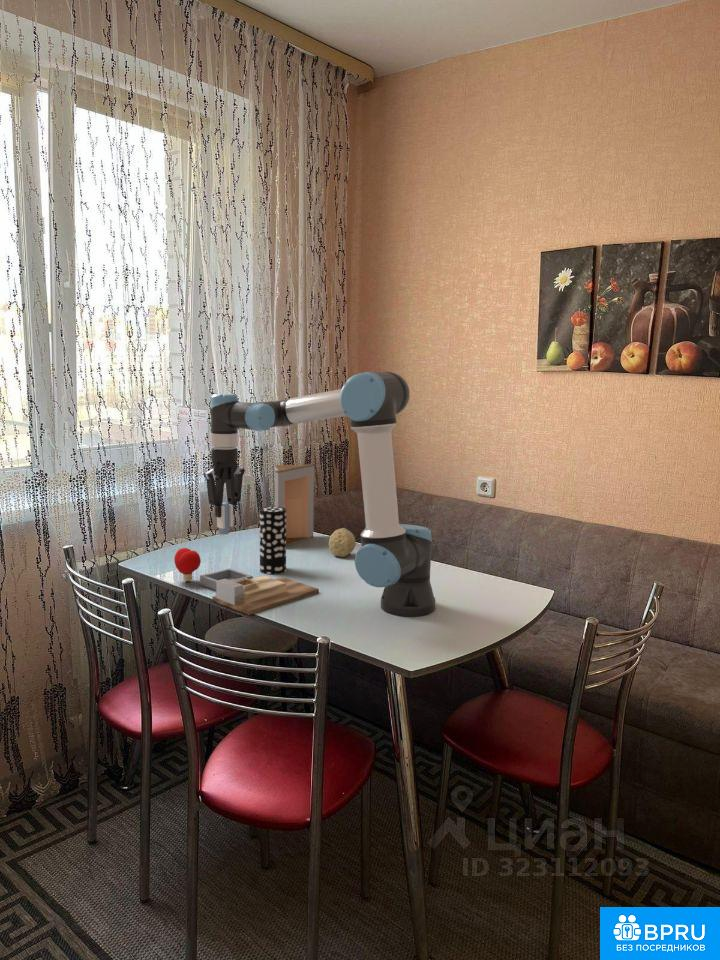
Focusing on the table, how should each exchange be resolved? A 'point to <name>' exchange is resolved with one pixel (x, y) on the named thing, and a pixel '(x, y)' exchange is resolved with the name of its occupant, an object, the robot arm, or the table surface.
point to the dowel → (226, 529)
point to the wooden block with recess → (260, 588)
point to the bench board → (273, 597)
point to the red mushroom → (187, 562)
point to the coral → (342, 542)
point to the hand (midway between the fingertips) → (225, 526)
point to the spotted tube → (272, 540)
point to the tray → (221, 577)
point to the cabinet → (296, 500)
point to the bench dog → (229, 591)
